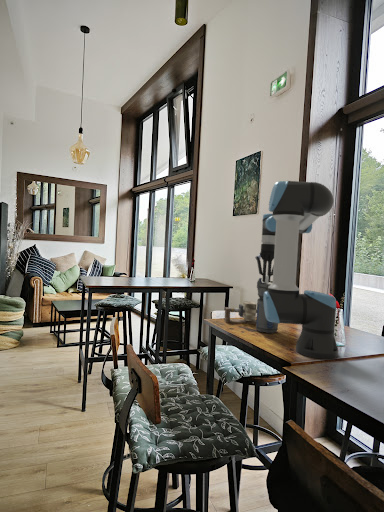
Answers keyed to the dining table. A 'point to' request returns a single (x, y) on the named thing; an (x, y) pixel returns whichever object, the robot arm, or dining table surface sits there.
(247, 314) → the sleeve
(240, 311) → the dark grey flat block
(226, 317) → the pipe stand
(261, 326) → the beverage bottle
